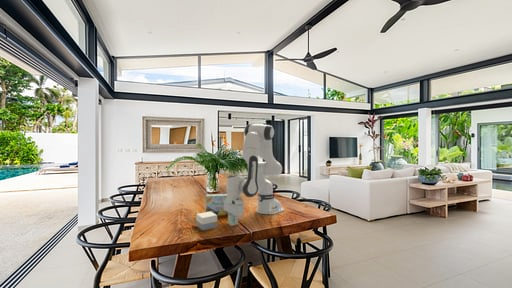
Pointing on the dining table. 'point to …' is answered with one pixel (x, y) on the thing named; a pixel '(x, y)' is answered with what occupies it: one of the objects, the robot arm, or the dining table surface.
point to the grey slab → (206, 225)
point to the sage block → (232, 220)
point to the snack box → (216, 204)
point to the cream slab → (206, 217)
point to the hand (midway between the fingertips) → (233, 220)
